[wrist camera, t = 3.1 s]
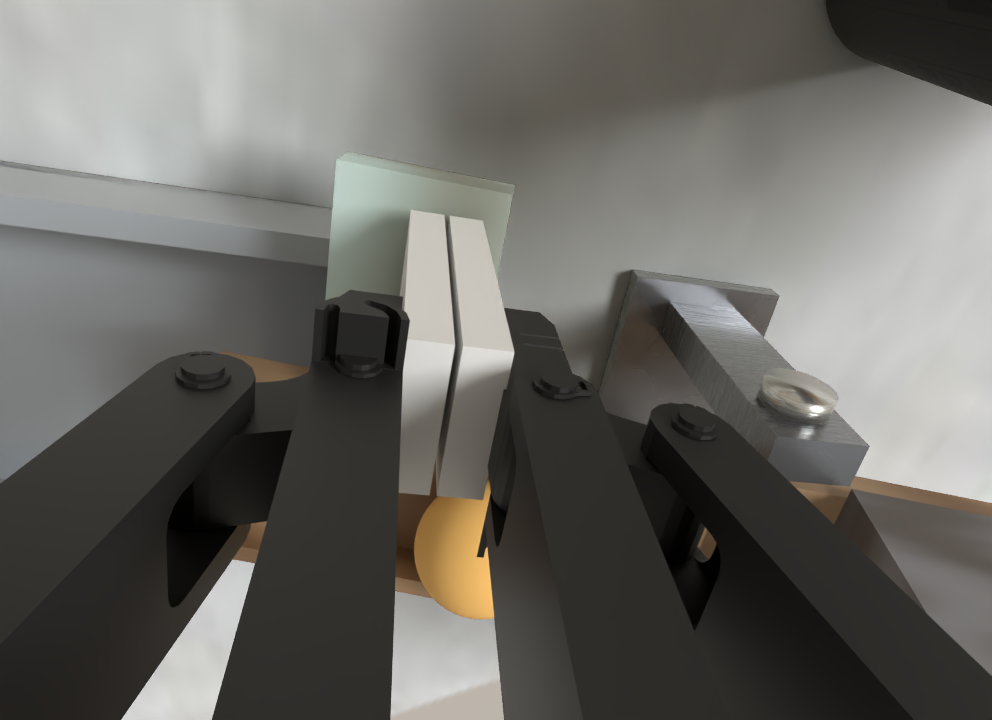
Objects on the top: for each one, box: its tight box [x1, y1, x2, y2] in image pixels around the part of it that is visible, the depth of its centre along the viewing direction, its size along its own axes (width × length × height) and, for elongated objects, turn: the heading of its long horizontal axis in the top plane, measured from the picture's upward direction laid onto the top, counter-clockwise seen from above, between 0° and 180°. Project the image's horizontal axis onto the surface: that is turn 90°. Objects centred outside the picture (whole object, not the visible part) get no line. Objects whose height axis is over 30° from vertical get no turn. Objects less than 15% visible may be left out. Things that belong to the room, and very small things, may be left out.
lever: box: [219, 152, 992, 676], centre depth 16 cm, size 24×11×7 cm, turn 80°
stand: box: [599, 270, 869, 487], centre depth 23 cm, size 5×10×9 cm, turn 170°
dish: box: [0, 161, 332, 560], centre depth 22 cm, size 14×12×3 cm
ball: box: [414, 480, 494, 619], centre depth 18 cm, size 3×3×3 cm
